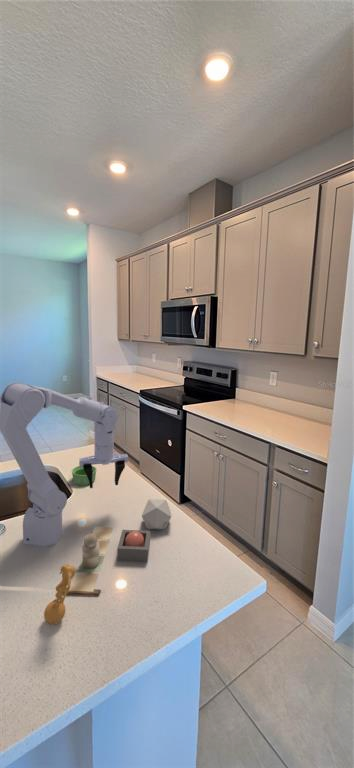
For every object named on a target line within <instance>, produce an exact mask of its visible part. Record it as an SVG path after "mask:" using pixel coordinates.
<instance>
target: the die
mask: <svg viewBox="0 0 354 768" xmlns="http://www.w3.org/2000/svg"><path fill="white" fill-rule="evenodd" d="M141 518H142V520H143V523H144V525H145V528H146V529H147V530H166V529H167V527H168V524H169V523H170V520H171V518H172V512H171V509H170V506H169V503H168V500H167V499H158V498H157V499H156V498H155V499H154V498H151V499H150V498H149V499H148V500H147V502H146V505H145V506H144V509H143V511H142V515H141Z"/></svg>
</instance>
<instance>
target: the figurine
mask: <svg viewBox="0 0 354 768" xmlns="http://www.w3.org/2000/svg"><path fill="white" fill-rule="evenodd" d="M76 572H77V570H76V567H75V566H74V565H71V564H69V563H68V564H66V565H65V564H64V565H62V566H61V568H60V572H59V575H61V574H62V575H61V578H62V579H61V581H60V582H59V583H58V585H56V587H55V590H56V592H55V599H53V600H52V601H50V602H49V603H48V604H47V605H46V607H45V608H44V612H43V616H44V617H43V618H44V620H45V622H46V623H47V624H49V625H56V624H59V623H60V622H61V621H62V620H63V619H64V618H65V614H66V606H65V604H64V601H65V598H66V596H67V593H68V591H69V589H70V586H71V584H72V580H73V578H74V577H75V574H76ZM65 590H66V591H65ZM64 592H65V593H64ZM62 593H64V594H62Z"/></svg>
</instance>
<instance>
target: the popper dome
mask: <svg viewBox="0 0 354 768" xmlns="http://www.w3.org/2000/svg"><path fill="white" fill-rule="evenodd" d="M125 546H134V547H144V546H145V545H144V537H143V535H142V534H141V533H140V532H137V531H133V532H131V533H129V534H128V535H127V537H126V539H125Z"/></svg>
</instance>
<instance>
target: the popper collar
mask: <svg viewBox="0 0 354 768" xmlns="http://www.w3.org/2000/svg"><path fill="white" fill-rule="evenodd" d="M133 531H137V532H140V533H141V534H142V535H143V537H144V547H134V546H125V539H126V537H127V535H128V534H129V533H131V532H133ZM150 546H151V530H138V529H136V530H135V529H133V530H132V529H121V534H120V538H119V541H118V546H117V551H116V552H117V554H116V555H117V556H116V557H117V562H138V563H140V562H141V563H148V561H149V553H150Z"/></svg>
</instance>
